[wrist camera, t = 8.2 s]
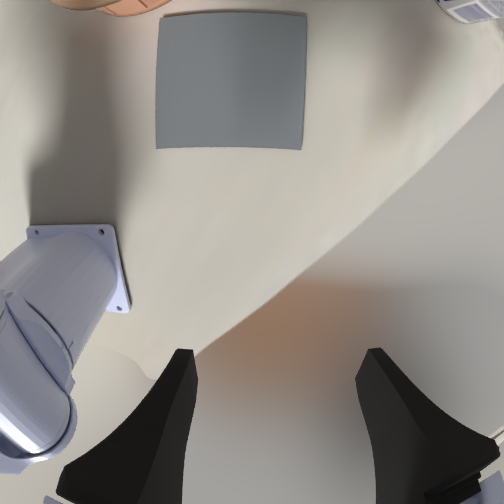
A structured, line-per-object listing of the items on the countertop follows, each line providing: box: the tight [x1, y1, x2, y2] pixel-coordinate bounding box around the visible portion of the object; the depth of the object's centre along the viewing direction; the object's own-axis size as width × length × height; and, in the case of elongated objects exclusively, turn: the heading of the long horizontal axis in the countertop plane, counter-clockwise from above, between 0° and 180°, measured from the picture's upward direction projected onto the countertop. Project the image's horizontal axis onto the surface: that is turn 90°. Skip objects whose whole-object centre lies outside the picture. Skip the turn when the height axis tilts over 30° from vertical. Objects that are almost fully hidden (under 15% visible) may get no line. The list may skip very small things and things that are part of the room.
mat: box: [156, 12, 307, 150], centre depth 14 cm, size 9×9×1 cm
